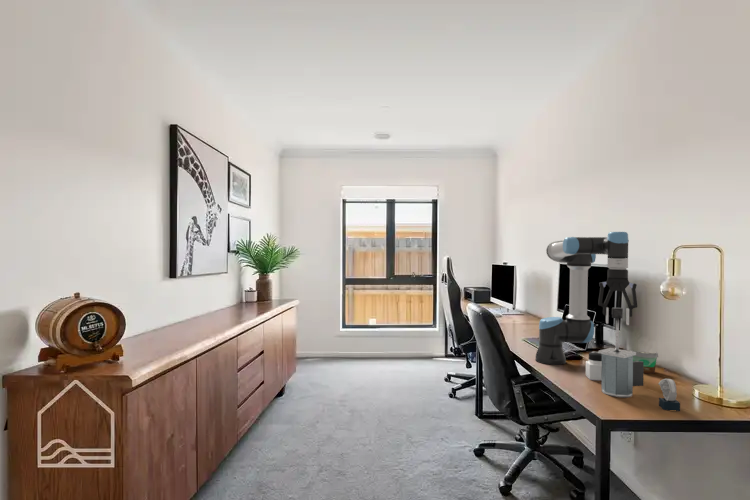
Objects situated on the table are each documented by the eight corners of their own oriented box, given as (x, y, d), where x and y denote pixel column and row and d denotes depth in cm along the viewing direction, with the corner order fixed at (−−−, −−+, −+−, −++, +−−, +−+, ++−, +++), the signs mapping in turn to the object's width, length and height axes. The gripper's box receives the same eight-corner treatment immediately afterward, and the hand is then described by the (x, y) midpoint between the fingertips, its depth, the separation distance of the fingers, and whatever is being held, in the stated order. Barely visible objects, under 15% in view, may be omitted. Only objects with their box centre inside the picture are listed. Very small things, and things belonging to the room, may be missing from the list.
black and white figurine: (606, 381, 199) (606, 354, 199) (589, 380, 201) (589, 353, 201) (601, 376, 206) (601, 351, 206) (585, 375, 208) (585, 350, 208)
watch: (673, 405, 168) (673, 377, 168) (682, 413, 160) (682, 383, 160) (656, 404, 170) (656, 375, 170) (664, 411, 162) (664, 381, 162)
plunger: (611, 360, 188) (611, 306, 188) (632, 364, 181) (633, 308, 181) (601, 363, 183) (601, 307, 183) (622, 367, 176) (623, 310, 176)
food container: (632, 373, 213) (633, 352, 213) (629, 369, 219) (629, 349, 219) (661, 375, 209) (662, 354, 209) (657, 371, 215) (657, 351, 215)
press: (614, 385, 193) (615, 346, 193) (644, 392, 183) (644, 351, 183) (596, 392, 184) (596, 350, 183) (626, 400, 174) (626, 356, 174)
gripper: (591, 268, 183) (591, 323, 183) (646, 269, 175) (646, 327, 175) (590, 267, 190) (590, 320, 190) (643, 268, 182) (643, 324, 182)
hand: (617, 323), depth 182 cm, fingers open, 7 cm apart
